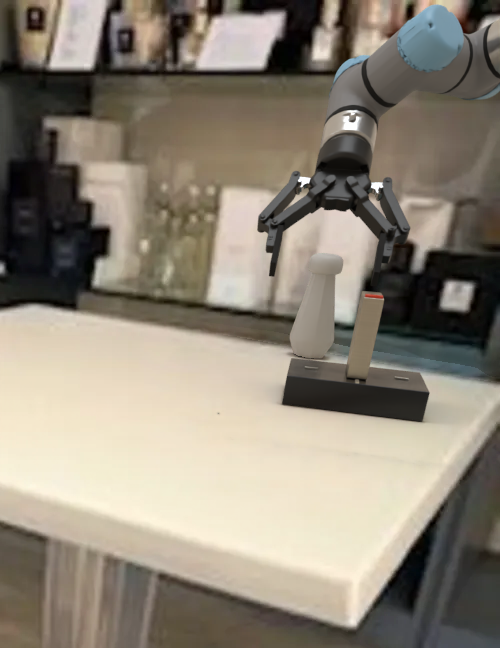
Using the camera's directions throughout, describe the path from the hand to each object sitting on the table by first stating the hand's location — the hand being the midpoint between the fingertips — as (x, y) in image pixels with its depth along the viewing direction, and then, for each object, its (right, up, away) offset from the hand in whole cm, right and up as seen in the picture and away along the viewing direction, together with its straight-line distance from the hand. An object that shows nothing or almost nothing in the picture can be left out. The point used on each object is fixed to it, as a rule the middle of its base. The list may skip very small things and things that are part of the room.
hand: (323, 274), depth 119 cm
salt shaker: (-2, -11, +1) cm, 11 cm away
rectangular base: (-5, -23, -24) cm, 33 cm away
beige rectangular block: (-4, -20, -25) cm, 32 cm away
